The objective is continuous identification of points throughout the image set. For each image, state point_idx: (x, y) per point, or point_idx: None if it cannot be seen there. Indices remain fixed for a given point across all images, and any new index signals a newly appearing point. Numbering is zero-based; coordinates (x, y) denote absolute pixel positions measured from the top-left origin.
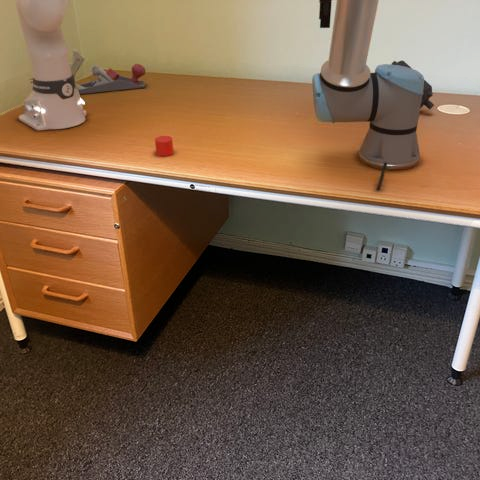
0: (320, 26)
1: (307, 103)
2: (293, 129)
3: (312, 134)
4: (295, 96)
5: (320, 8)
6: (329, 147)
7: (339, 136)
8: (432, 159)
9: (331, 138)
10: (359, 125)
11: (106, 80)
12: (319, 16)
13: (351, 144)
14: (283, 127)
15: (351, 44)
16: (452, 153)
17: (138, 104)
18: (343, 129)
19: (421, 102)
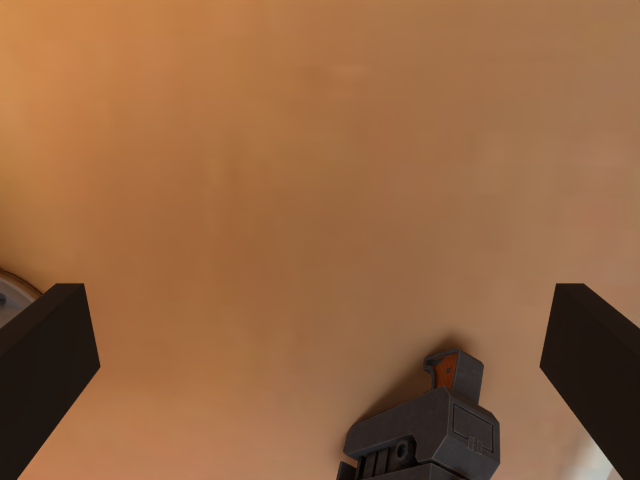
0: (49, 293)
1: (477, 113)
2: (167, 59)
3: (130, 131)
4: (580, 59)
5: (623, 354)
6: (27, 184)
7: (129, 219)
8: None
9: (106, 193)
10: (240, 284)
11: None
12: (571, 298)
13: (70, 250)
14: (183, 17)
15: None
16: (72, 467)
17: None
18: (196, 234)
19: (338, 476)
